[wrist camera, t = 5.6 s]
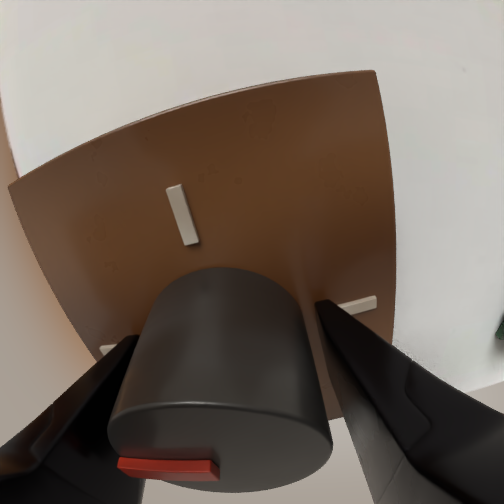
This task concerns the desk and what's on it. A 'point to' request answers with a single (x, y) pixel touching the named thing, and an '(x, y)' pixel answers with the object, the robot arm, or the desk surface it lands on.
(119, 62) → the desk surface
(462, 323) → the desk surface
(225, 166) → the panel
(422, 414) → the robot arm
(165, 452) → the knob
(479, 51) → the desk surface
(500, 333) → the green flat plate
